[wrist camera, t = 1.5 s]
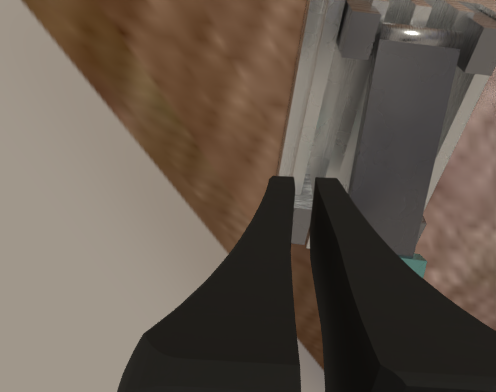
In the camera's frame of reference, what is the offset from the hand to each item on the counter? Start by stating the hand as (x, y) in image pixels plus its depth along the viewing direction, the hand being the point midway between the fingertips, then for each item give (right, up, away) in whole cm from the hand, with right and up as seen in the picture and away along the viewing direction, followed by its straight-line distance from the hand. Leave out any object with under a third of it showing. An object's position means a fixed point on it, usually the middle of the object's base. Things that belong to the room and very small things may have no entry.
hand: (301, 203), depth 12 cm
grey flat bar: (+4, +1, +4) cm, 6 cm away
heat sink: (+4, +4, +10) cm, 11 cm away
